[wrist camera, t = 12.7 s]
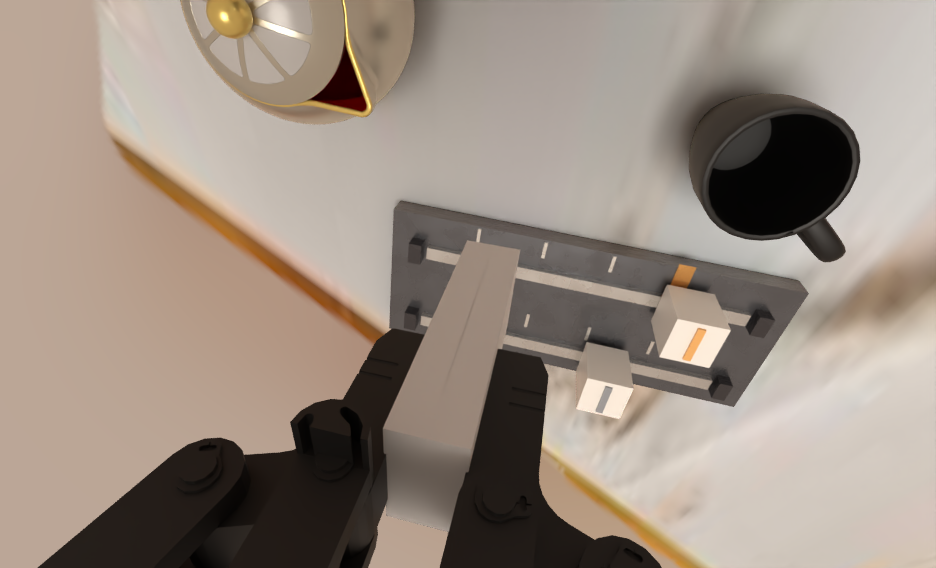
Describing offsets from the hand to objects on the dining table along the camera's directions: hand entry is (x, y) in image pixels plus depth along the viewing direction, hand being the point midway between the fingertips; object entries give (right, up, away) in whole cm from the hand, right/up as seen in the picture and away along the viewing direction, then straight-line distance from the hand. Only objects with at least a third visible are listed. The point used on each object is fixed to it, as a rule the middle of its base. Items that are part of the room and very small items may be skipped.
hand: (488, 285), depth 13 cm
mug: (+21, +10, +22) cm, 32 cm away
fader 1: (+13, -8, +32) cm, 35 cm away
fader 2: (+18, -2, +27) cm, 33 cm away
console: (+10, -2, +32) cm, 34 cm away
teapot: (-10, +22, +22) cm, 33 cm away
